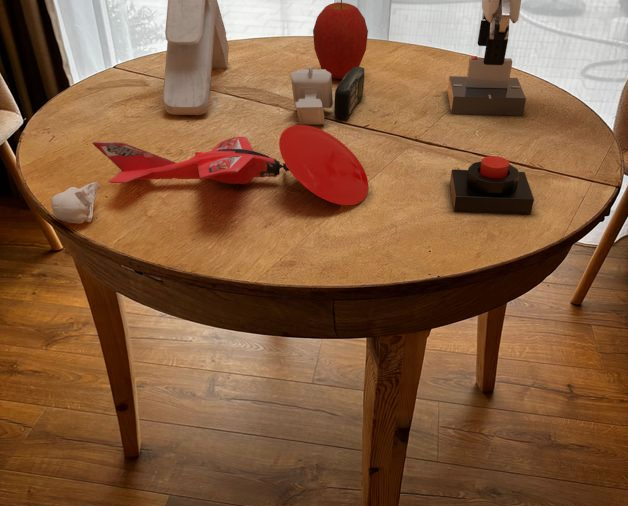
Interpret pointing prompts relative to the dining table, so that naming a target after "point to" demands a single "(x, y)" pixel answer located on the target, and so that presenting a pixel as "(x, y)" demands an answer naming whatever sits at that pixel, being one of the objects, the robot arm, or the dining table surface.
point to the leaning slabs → (192, 54)
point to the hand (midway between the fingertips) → (489, 54)
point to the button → (494, 167)
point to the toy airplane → (193, 163)
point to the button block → (490, 191)
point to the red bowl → (323, 165)
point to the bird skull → (75, 203)
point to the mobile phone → (349, 92)
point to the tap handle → (488, 74)
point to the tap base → (485, 98)
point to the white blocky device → (311, 94)
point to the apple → (340, 38)
